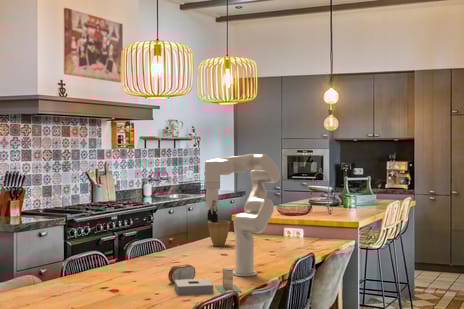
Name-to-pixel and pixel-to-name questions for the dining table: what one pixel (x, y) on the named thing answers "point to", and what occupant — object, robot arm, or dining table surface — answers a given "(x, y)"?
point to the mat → (221, 289)
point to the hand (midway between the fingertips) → (212, 221)
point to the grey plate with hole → (193, 286)
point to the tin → (181, 273)
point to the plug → (227, 278)
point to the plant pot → (219, 232)
